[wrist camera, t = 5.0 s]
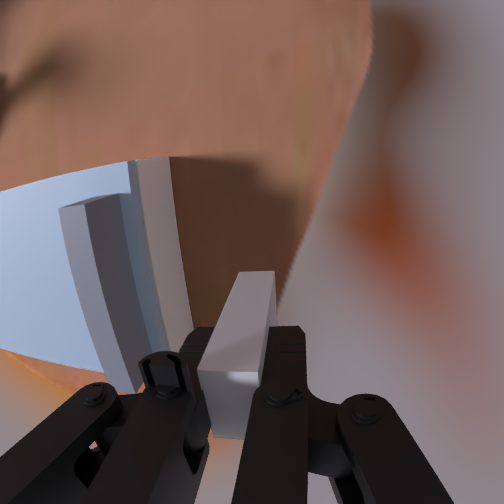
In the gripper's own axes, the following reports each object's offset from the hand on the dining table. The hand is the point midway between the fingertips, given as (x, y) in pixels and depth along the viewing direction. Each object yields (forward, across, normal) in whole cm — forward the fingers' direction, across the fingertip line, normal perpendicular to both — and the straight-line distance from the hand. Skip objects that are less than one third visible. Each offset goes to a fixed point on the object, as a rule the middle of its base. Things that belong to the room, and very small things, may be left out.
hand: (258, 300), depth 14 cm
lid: (+2, -15, 0) cm, 15 cm away
